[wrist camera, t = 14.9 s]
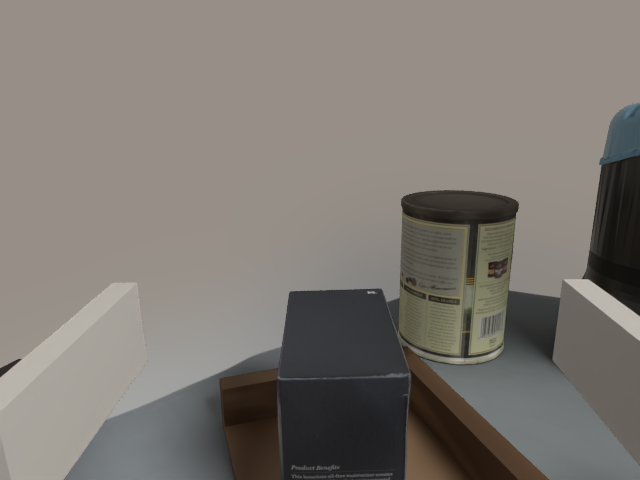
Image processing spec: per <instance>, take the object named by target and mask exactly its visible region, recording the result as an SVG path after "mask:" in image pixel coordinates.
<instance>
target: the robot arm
mask: <svg viewBox="0 0 640 480" xmlns="http://www.w3.org/2000/svg"><path fill="white" fill-rule="evenodd" d="M600 165H602V167H601V174H600V181H599V188H598V195H597V202H596V209H595V216H594V223H593V230H592V237H591V244H590V251H589V257H588V264H587V269H586V272H585V274H584V276H583V278H582V279H577V280H576V279H572V280H571V279H567V280H566V279H565V280H563V282H562V290H561V297H560V305H559V313H558V320H557V328H556V336H555V344H554V351H553V359H552V360H553V362H554V363H555V364H556V365H557V366H558V368H559V369H560V370H561V371H562V372H563V374H564V375H565V376H566V377H567V378H568V380H569V381H570V382H571V383H572V385H573V386H574V387H575V388H576V389H577V391H578V392H579V393H580V394H581V395H582V397H583V398H584V399H585V400H586V401H587V403H588V404H589V405H590V406H591V408H592V409H593V410H594V411H595V412H596V414H597V415H598V416H599V417H600V418H601V420H602V421H603V422H604V423H605V424H606V426H607V427H608V428H609V429H610V431H611V432H612V433H613V434H614V435H615V437H616V438H617V439H618V440H619V441H620V443H621V444H622V445H623V446H624V447H625V449H626V450H627V451H628V452H629V454H630V455H631V456H632V457H633V458H634V460H635V461H636V462H637V463H638V464H639V466H640V103H636V104H632V105H629V106H626V107H624V108H623V109H621V110H620V111H619V112H618V113H617V114H616V115H615V116H614V117H613V119H612V121H611V123H610V126H609V131H608V135H607V140H606V145H605V149H604V154H603V157H602V158H601V159H600ZM146 362H147V353H146V346H145V339H144V332H143V323H142V316H141V309H140V302H139V293H138V286H137V283H112V284H111V285H110V286H109V287H108V288H106V289H105V290H104V291H103V292H102V293H100V294H99V295H98V296H97V297H96V298H94V299H93V300H92V301H91V302H90V303H89V304H87V305H86V306H85V307H84V308H83V309H81V310H80V311H79V312H78V313H77V314H75V315H74V316H73V317H72V318H71V319H69V320H68V321H67V322H66V323H65V324H63V325H62V326H61V327H60V328H59V329H58V330H56V331H55V332H54V333H53V334H52V335H50V336H49V337H48V338H47V339H46V340H45V341H43V342H42V343H41V344H40V345H39V346H37V347H36V348H35V349H34V350H33V351H31V352H30V353H29V354H28V355H27V356H25V357H24V358H23V359H18V360H16V361H14V362H12V363H10V364H8V365H6V366H4V367H2V368H0V480H64V478H65V477H66V476H67V474H68V473H69V471H70V470H71V468H72V467H73V466H74V464H75V463H76V461H77V460H78V459H79V457H80V456H81V454H82V453H83V451H84V450H85V449H86V447H87V446H88V444H89V443H90V442H91V440H92V439H93V437H94V436H95V435H96V433H97V432H98V430H99V429H100V427H101V426H102V425H103V423H104V422H105V420H106V419H107V418H108V416H109V415H110V413H111V412H112V411H113V409H114V408H115V406H116V405H117V403H118V402H119V401H120V399H121V398H122V396H123V395H124V393H125V392H126V391H127V389H128V388H129V386H130V385H131V384H132V382H133V381H134V379H135V378H136V377H137V375H138V374H139V372H140V371H141V370H142V368H143V367H144V365H145V364H146Z"/></svg>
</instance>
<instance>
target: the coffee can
mask: <svg viewBox="0 0 640 480" xmlns="http://www.w3.org/2000/svg"><path fill="white" fill-rule="evenodd" d="M401 206H402V209H403V211H402V240H401V241H402V242H401V272H400V302H399V330H398V337H399V340H400V343H401V344H402V346H408V347H409V348H410V349H411V350H412V351H413V352H414V353H415V354H416V355H418V356H420V357H423V358H425V359H429V360H432V361H436V362H442V363H448V364H457V365H460V364H463V365H470V364H479V363H482V362H486V361H489V360H492V359H494V358H496V357H497V356H498V355H500V354H501V352H502V351H503V349H504V333H505V323H506V312H507V301H508V291H509V280H510V269H511V262H512V252H513V241H514V229H515V219H516V213H517V211H518V206H519V203H518V202H517V201H516V200H514V199H512V198H509V197H506V196H502V195H497V194H491V193H484V192H473V191H450V190H444V191H426V192H419V193H413V194H409V195H406V196H404V197H403V198H402V200H401Z"/></svg>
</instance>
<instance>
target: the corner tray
mask: <svg viewBox="0 0 640 480" xmlns="http://www.w3.org/2000/svg"><path fill="white" fill-rule="evenodd" d="M402 349H403V351H404V355H405V358H406V361H407V364H408V366H409V370H410V373H411V390H410V398H409V409H408V423H407V426H408V429H407V461H406V480H549V479H548V478H547V477H546V476H545V475H544V474H543V473H541V472H540V471H539V470H538V469H537V468H536V467H535V466H534V465H533V464H532V463H531V462H530V461H529V460H528V459H527V458H526V457H524V456H523V455H522V454H521V453H520V452H519V451H518V450H517V449H516V448H515V447H514V446H513V445H512V444H511V443H510V442H509V441H507V440H506V439H505V438H504V437H503V436H502V435H501V434H500V433H499V432H498V431H497V430H496V429H495V428H494V427H493V426H492V425H490V424H489V423H488V422H487V421H486V420H485V419H484V418H483V417H482V416H481V415H480V414H479V413H478V412H477V411H476V410H475V409H473V408H472V407H471V406H470V405H469V404H468V403H467V402H466V401H465V400H464V399H463V398H462V397H461V396H460V395H459V394H458V393H456V392H455V391H454V390H453V389H452V388H451V387H450V386H449V385H448V384H447V383H446V382H445V381H444V380H443V379H442V378H441V377H439V376H438V375H437V374H436V373H435V372H434V371H433V370H432V369H431V368H430V367H429V366H428V365H427V364H426V363H425V362H424V361H422V360H421V359H420V358H419V357H418V356H417V355H416V354H415V353H414V352H413V351H412V350H411V349H410V348H409V347H408V346H403V347H402ZM277 376H278V368H277V369H271V370H265V371H260V372H254V373H248V374H242V375H237V376H231V377H225V378H220V392H221V407H222V421H223V426H224V431H225V435H226V440H227V444H228V449H229V453H230V458H231V462H232V466H233V471H234V475H235V480H281V475H280V454H279V432H278V404H277Z"/></svg>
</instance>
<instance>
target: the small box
mask: <svg viewBox="0 0 640 480" xmlns="http://www.w3.org/2000/svg"><path fill="white" fill-rule="evenodd" d="M410 390H411V373H410V370H409V366H408V364H407V361H406V358H405V355H404V351H403V349H402V346H401V343H400V340H399V337H398V334H397V331H396V328H395V325H394V322H393V319H392V317H391V314H390V310H389V308H388V304H387V302H386V299H385V296H384V294H383V290H382V289H359V290H357V289H355V290H326V291H294V292H290V293H289V299H288V306H287V314H286V321H285V329H284V335H283V342H282V349H281V356H280V362H279V368H278V376H277V404H278V432H279V454H280V475H281V480H406V461H407V429H408V426H407V423H408V409H409V398H410Z"/></svg>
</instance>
